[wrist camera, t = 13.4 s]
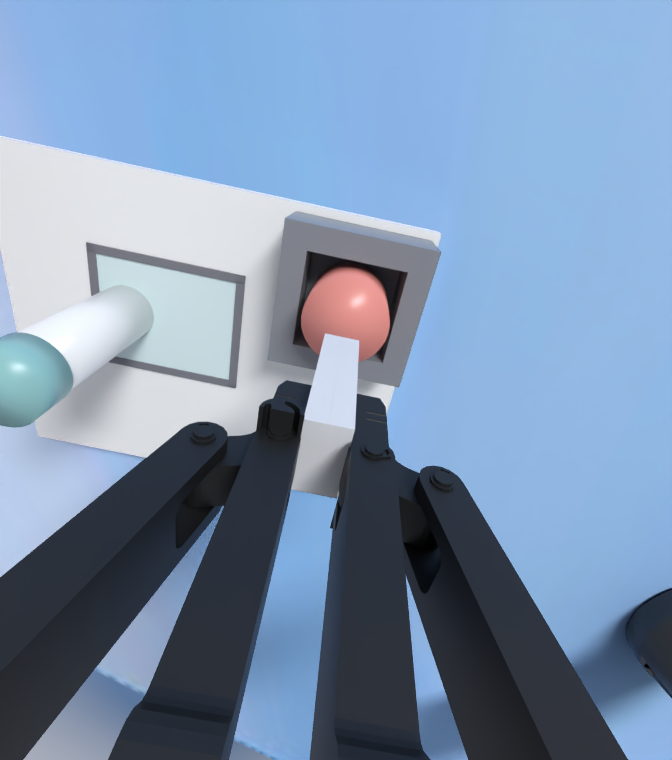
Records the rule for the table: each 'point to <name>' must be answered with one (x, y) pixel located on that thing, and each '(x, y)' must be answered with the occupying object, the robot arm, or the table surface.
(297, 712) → the table surface
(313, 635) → the table surface
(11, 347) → the marker
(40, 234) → the sheet
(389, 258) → the button housing
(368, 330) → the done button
